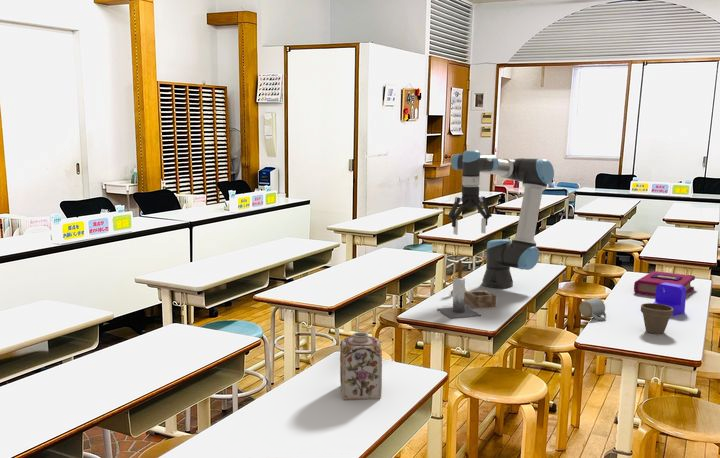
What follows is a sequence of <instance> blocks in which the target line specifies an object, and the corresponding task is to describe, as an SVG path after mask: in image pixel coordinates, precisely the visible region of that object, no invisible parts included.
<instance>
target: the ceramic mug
mask: <svg viewBox="0 0 720 458" xmlns="http://www.w3.org/2000/svg"><path fill="white" fill-rule="evenodd" d="M578 309H579V312H580V315H581V316H583V318H584V317H585V319H586V318H588V319H589V318H591V319H592V318H593V319H595V320H597V321H605V320H606V319H607V313H606V304H605V302H604V301H603V300H602V298H599V297H594V298H590V299H586V300H583V301H581V302H580V304H579V308H578ZM601 316H603V317H601Z"/></svg>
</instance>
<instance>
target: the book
mask: <svg viewBox="0 0 720 458" xmlns="http://www.w3.org/2000/svg"><path fill="white" fill-rule="evenodd" d="M695 279H696V275H693V274H692V275H691V274H680V273H673V272H666V271H665V272H664V271H658V270H653V271H650V272H649V273H648V274H646V275H644V276H643V277H640V278H639V279H637V280H635V282H634V284H633V292H634V294H638V295H643V296H644V295H645V296H650V297H656V287H657V285H659V284H662V283H671V284H677V285H682V286H684V287H685V288H686V296H687V295H689V294H690V293H691V292H693V291H694V290H695V286H692V285H691V282H692V281H694V280H695ZM663 289H664V291H665V288H664V287H663Z"/></svg>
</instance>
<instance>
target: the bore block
mask: <svg viewBox="0 0 720 458" xmlns="http://www.w3.org/2000/svg"><path fill="white" fill-rule="evenodd" d="M496 303H497V295H495V294H494V293H492V292H489V291H487V290H486V289H484V290H470V291H468V290H467V292H465V304H466V305H468V306H470V307H471V308H473V309H482V308H493V307H495V308H496V307H497V306H496V305H497V304H496Z"/></svg>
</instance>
